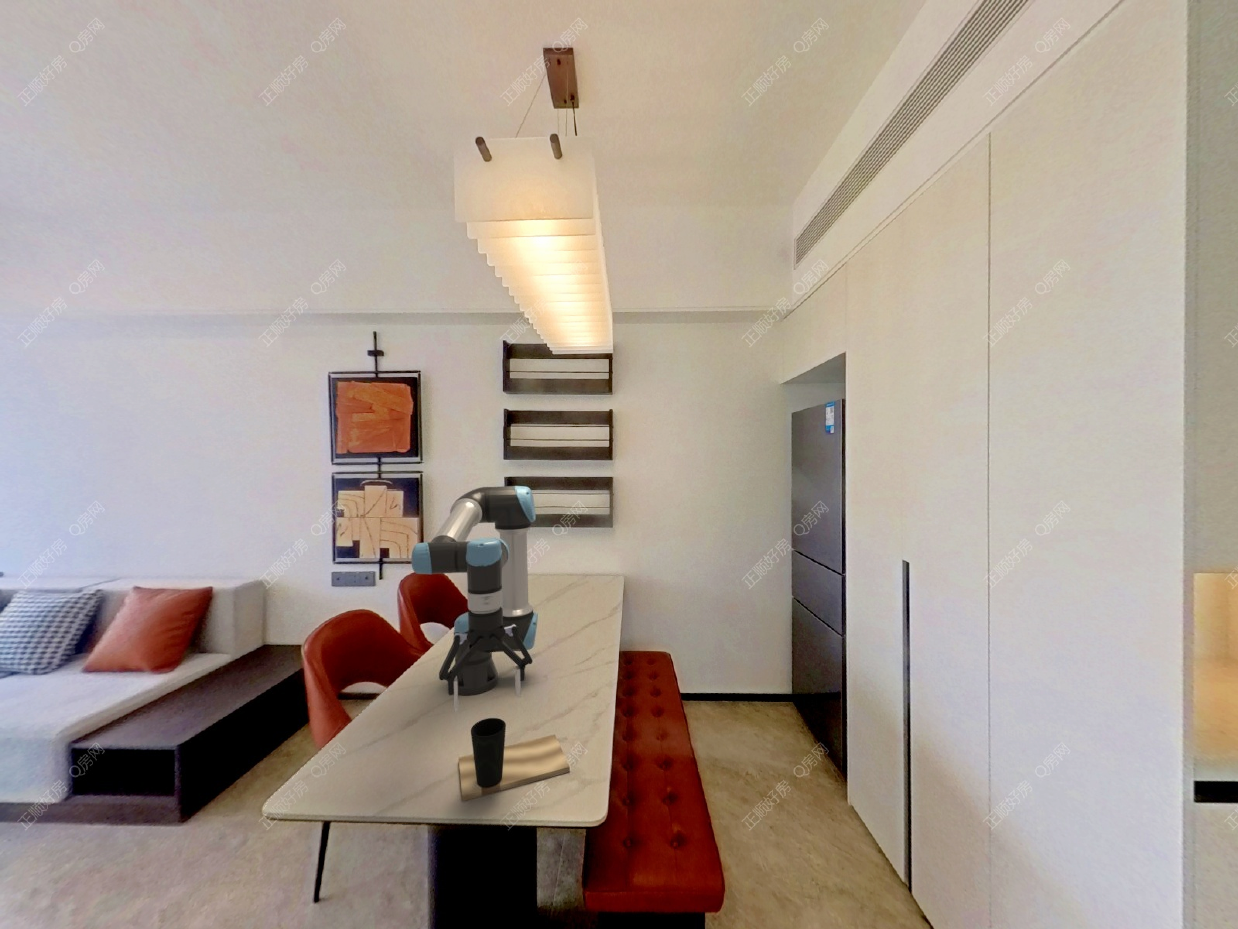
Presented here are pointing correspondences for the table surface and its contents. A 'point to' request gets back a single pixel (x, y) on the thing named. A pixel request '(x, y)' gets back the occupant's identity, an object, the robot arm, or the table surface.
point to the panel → (517, 766)
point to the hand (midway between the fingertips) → (487, 701)
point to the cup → (488, 751)
